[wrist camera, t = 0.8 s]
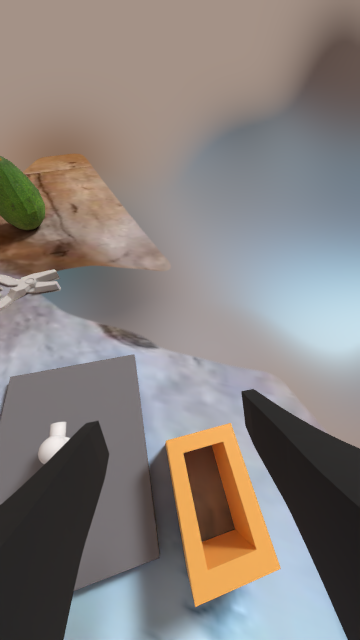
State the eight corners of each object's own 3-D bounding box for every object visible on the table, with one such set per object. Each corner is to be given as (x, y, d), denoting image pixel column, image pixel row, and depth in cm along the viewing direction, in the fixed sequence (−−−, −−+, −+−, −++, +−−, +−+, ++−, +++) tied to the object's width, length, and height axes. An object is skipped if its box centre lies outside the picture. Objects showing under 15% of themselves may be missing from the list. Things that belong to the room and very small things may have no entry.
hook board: (159, 553, 17) (158, 591, 12) (-38, 628, 14) (-145, 718, 9) (134, 357, 27) (128, 334, 22) (15, 379, 24) (-23, 359, 19)
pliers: (-53, 274, 31) (54, 257, 35) (-44, 281, 32) (58, 264, 36) (-70, 325, 26) (58, 298, 30) (-59, 332, 27) (62, 305, 31)
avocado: (18, 243, 38) (-33, 167, 28) (4, 224, 41) (-45, 149, 31) (60, 229, 41) (28, 157, 31) (45, 212, 44) (11, 142, 34)
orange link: (252, 543, 18) (280, 568, 13) (186, 570, 16) (195, 607, 12) (218, 429, 22) (230, 423, 18) (165, 444, 21) (166, 440, 17)
